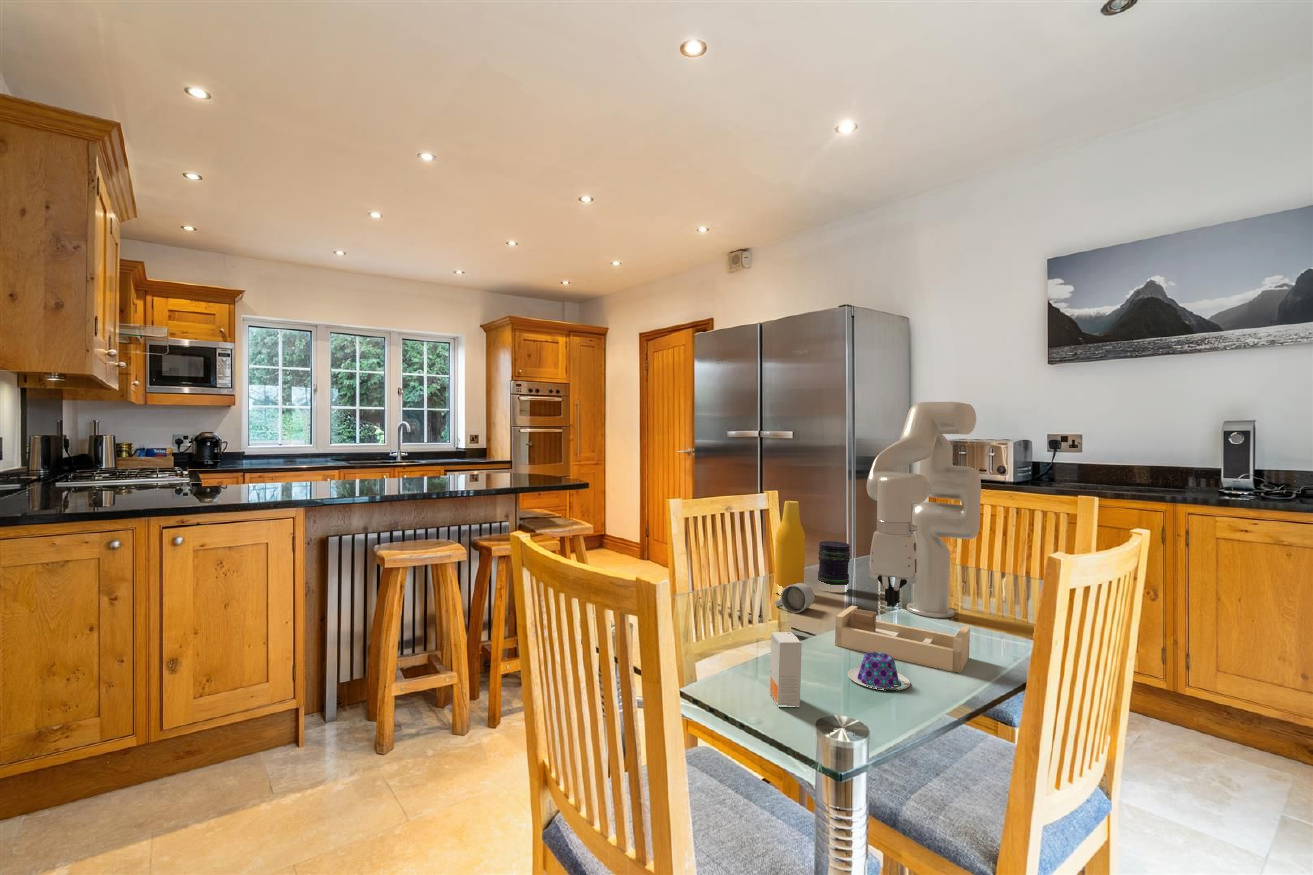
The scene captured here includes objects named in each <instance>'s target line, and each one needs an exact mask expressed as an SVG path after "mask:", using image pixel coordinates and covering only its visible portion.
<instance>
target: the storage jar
mask: <svg viewBox="0 0 1313 875" xmlns="http://www.w3.org/2000/svg"><path fill="white" fill-rule="evenodd" d="M818 545H819V547H818V560H819V561H818V562H819V563H818V565H819V566H818V571H817V581H818V580H819V581H821V582H824V583H826V584H830V585H847V584H848V585H849V584H850V574H849V563H850V560H851V559H850V557H851V552H850V548H851V544H849V543H846V542H841V541H833V540H831V541H830V540H829V541H826V540H825V541H820V542H819V543H818Z"/></svg>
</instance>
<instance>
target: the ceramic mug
mask: <svg viewBox="0 0 1313 875" xmlns="http://www.w3.org/2000/svg"><path fill="white" fill-rule="evenodd" d="M814 602H815V592H814V590H813V588H812V587H811V586H810V585H808V584H806V583H804V584H803V583H797V584H794V585H789V586H787V587H786V588H785V589H784V590H783V591H782V593H781V595H780V599H778V600H775V601H774V604H775V606H776V607H781V606H783V608H784V609H785V610H786V611H788V612H790V613H792V614H799V613H801V612H803V611H805V610H806V609H808V608H809V607H811V606H812V604H814Z"/></svg>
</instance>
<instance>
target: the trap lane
mask: <svg viewBox="0 0 1313 875" xmlns="http://www.w3.org/2000/svg"><path fill="white" fill-rule="evenodd" d="M857 609H858V606H856V605H850V606H849V607H847V608H846V609H844V610H843V611H841V612H840V613H838V614H837V615H836V616H835V629H834V630H835V631H834V632H835V633H834V634H835V638H834V646H836V647H840V648H845V649H849V650H853V651H858V652H863V653H865V654H866V653H868V652H878V653H885V654H887V655H890V656H892V657H893V659H894V660H897V661H898V660H899V661H902V662H907V663H911V664H917V665H919V666H920V665H921V666H925V667H931V668H934V669H938V668H939V669H938V670H943V671H947V672H953V673H956V672H958V673H957V674H961V673H962V671H963V670H964V668H965V665H967V663H968V660H969V658H970V643H971V642H970V637H971V636H970V635H971V634H970V633H971V627H970V626H967V625H962V626H961V628H960V629H959V630H958V631H957V634H956V635H955V634H950V633H945V632H939V631H935V630H930V629H924V628H920V627H919V628H918V627H914V626H909V625H904V624H899V623H893V622H888V621H882V620H877V619H876V631H875V632H869V631H864V630H859V629H855V628H852V614H853V612H854V611H856V610H857Z"/></svg>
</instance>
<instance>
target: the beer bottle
mask: <svg viewBox="0 0 1313 875" xmlns="http://www.w3.org/2000/svg"><path fill="white" fill-rule="evenodd" d="M783 504H784V505H783V513H782V519H781V522H780V523H779V525H778V528H777V531H776V533H775V534H776V535H775V549H774V550H775V551H774V552H775V554H774V555H775V556H774V579H773V581H774V582H775V583H776V584H778V585H779V586H782V587H783V588H786V587H787V586H789V585H794V584H797V583H803V584H805V562H806V560H805V559H806V533H805V530H804V527H803V526H802V523H801V519H800V518H801V517H800V516H801V515H800V505H799V501H797V500H795V501H794V500H785V501H784V503H783ZM774 582H773V583H774Z"/></svg>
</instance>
